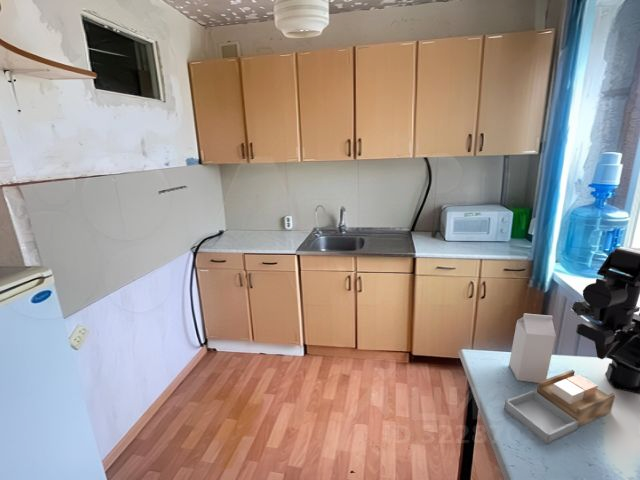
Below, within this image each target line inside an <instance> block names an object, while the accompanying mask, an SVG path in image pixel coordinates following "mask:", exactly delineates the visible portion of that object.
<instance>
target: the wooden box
mask: <svg viewBox="0 0 640 480" xmlns="http://www.w3.org/2000/svg"><path fill="white" fill-rule="evenodd" d="M575 375H576V374H575V370H574V369H571V370H567V371H566V372H563V373H560V374H557V375H555V376H551V377H549V378H546V380H543V381H540V382H539V383H537V389H536V392H537V393H538V394H540V395H541V396H543V397H544V398H546V399H547V400H548V401H550V402H551V403H553V404H554V405H555V406H557V407H558V408H560V409H561V410H563V411H564V412H565V413H567V414H568V415H570V416H571V417H573V418H574V419H575V420H577V421H578V422H579V423H578V426H577V428H579V427H581V426H584V425H585V424H589V423H591V422H592V421H594V420H597V419H598V418H601V417H603V416H605V415H608V414H610V413H612V407H613V404H614V401H615V398H616V394H615V393H609V394H607V393H605V392H603V391H602V390H600V389H598V388H597V390H596V393H595V394H594V395H592V396H589V397H587V398H585V399H582V400H580V401H577V402H575V403H573V404H569V403H567V402H566V401H564V400H563V399H562V398H560V397H559V396H557V395H556V394H554V393H553V392H552V388H553V384H554V383H556V382H559V381H562V380H564V379H567V378H570V377H572V376H575Z"/></svg>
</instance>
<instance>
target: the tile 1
mask: <svg viewBox="0 0 640 480" xmlns="http://www.w3.org/2000/svg"><path fill="white" fill-rule="evenodd" d="M552 392H553V393H554V394H556V395H557V396H559V397H560V398H562V399H563V400H564V401H566V402H567V403H569V404H573V403H575V402H577V401H580V400H582V399H583V396H584V392H585V390H583V389H581V388H580V387H578V386H576V385H575V384H573V383H572V382H570V381H568V380H567V379H564V380H562V381H559V382H556V383H554V384H553V388H552Z"/></svg>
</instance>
